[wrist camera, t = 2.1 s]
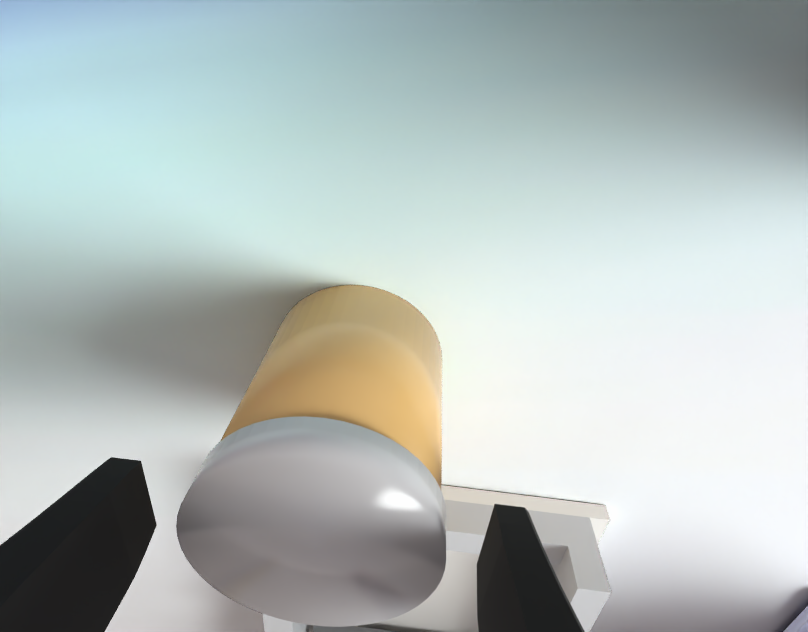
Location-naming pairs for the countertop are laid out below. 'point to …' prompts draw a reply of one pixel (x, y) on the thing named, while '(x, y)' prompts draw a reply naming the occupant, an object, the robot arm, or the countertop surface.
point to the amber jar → (329, 469)
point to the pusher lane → (465, 531)
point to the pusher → (346, 629)
